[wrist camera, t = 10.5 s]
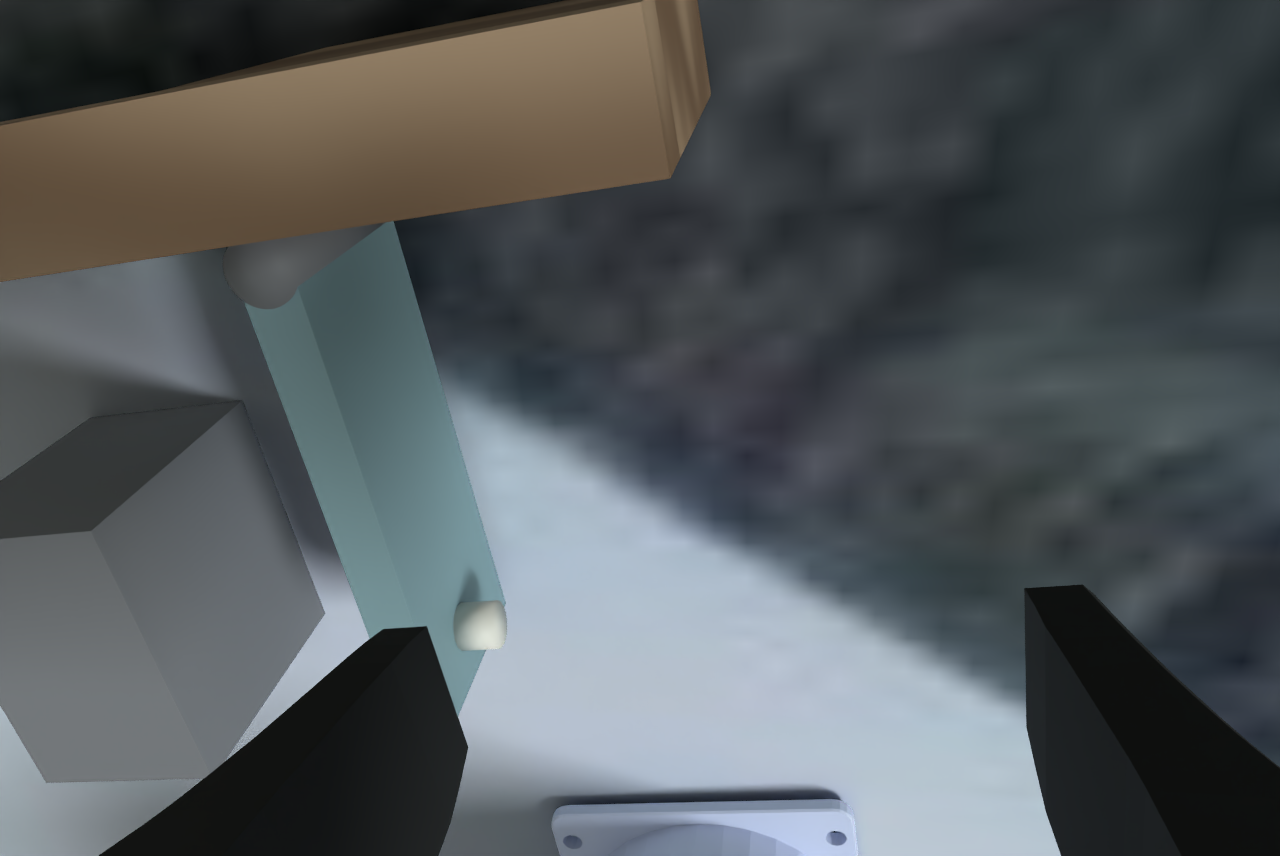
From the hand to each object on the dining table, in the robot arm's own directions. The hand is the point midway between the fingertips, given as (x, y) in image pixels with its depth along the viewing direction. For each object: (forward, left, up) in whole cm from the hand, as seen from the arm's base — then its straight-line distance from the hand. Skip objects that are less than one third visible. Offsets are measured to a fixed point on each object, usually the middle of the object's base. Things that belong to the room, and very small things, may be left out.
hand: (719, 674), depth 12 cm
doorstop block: (-2, +14, -10) cm, 17 cm away
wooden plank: (+6, +11, -9) cm, 16 cm away
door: (0, +7, -9) cm, 11 cm away
